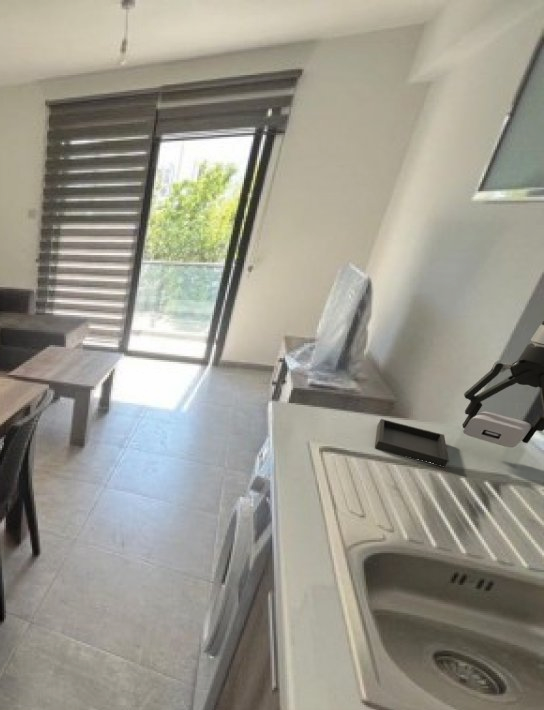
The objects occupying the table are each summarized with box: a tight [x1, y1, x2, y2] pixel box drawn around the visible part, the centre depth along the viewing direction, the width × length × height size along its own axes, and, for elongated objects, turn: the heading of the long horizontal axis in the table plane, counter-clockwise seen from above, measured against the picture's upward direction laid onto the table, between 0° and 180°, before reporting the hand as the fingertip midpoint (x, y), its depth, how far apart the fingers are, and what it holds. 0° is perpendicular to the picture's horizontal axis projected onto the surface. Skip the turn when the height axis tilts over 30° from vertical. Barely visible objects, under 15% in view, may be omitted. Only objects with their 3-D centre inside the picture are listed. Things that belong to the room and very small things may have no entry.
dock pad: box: [374, 418, 450, 468], centre depth 122 cm, size 13×19×2 cm
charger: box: [462, 411, 532, 448], centre depth 118 cm, size 5×9×15 cm
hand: (493, 433), depth 119 cm, fingers closed on charger, 10 cm apart
